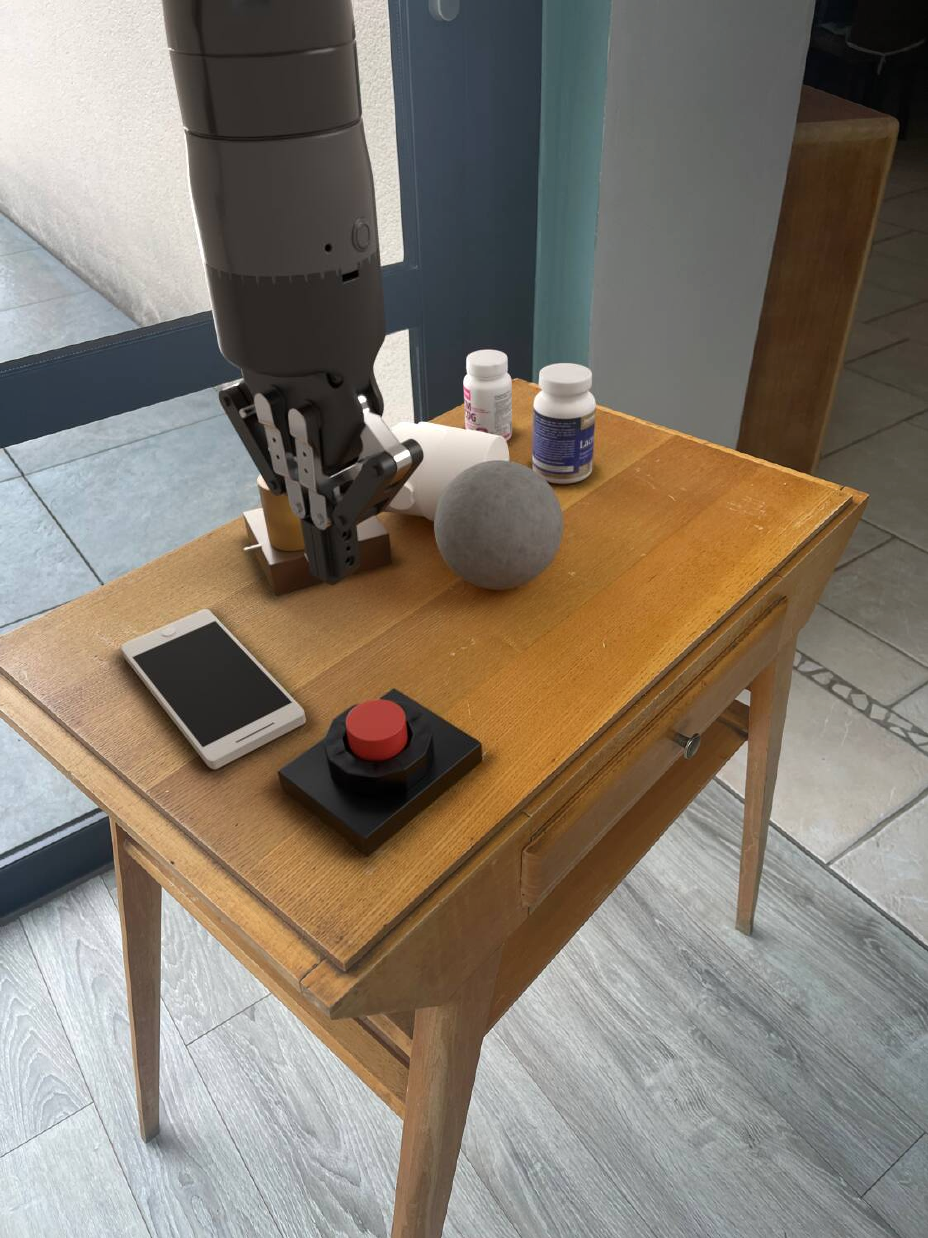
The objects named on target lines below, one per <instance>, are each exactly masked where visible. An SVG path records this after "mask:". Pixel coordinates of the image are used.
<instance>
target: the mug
mask: <svg viewBox="0 0 928 1238" xmlns="http://www.w3.org/2000/svg"><path fill="white" fill-rule="evenodd" d="M390 430H391V431H392V433H393V434H394V435H395V437H396V438H397V439H398V441H399V442H400V443H402V442H404V441H406V440H408V439H414V440H416V441H417V442H418V443H419V444H420V446H421V448H422V450H423V454H424V458H423V461H422V462H421V464H420V465H419V466H418V468H417V469H416V470H415V471H414V473H413V474H412V475H411V477H410V478H409V479H408V481H407V482H406V483H405V484H404V486H403V487H402V488H401V490H400V491H399V492H398V494H397V495H396V496H395V497H394V499H393V500H392V501H391V503H390V504H389V505H388V507H387V508H386V509H385V510H384V511H383V512H382V513H390V514H400V515H406V516H415V517H416V516H417V517H424V518H426V519H427V520H429V521H431V522H434V520H435V513H436V509H437V505H438V502H439V500H440V498H441V496H442V494H443V492H444V490H445V489H446V487H447V486H448V485H449V484H450V482H451V481H452V480H453V479H454V478H455V477H456V476H458V475H459V474H460V473H461V472H463V471H464V470H466V469H468V468H470V467H472V466H474V465H476V464H479V463H482V462H487V461H493V460H503V461H510V451H509V446H508V442H507V441H506V440H505V439H504V437H502V436H499V435H494V434H488V433H485V432H481V431H475V430H466V429H465V428H461V427H454V426H449V425H444V424H439V423H433V422H427V421H420V422H418V423H413V422H408V421H402V422H399V423H397V424H395V425H394V426H393V427H392V428H390Z"/></svg>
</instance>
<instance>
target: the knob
mask: <svg viewBox="0 0 928 1238" xmlns="http://www.w3.org/2000/svg"><path fill="white" fill-rule="evenodd" d="M256 484H257V488H258V493H259V497H260V503H261V508H263V513H264V518H265V523H266V528H267V533H268V538H269V542H270V544H271V545H272V546H273V547H275V548H276V549H279V550H283V551H299V550H303V549H305V544H304V537H303V533H302V526H301V520H300V518H298V517H297V516H296V515H295V514H294V513H293V511H292V509H291V507H290V503H289V498H288V497H287V496H286V495H285V494H284V493H283V494H281V495H279V496H275V495H274V494H273V493H272V492H271V491H270V490H269V488H268V486H267V485H266V483H265V481H264V479H263V478H262V476H261V474H260V473H259V475H258V477H257V481H256Z"/></svg>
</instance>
